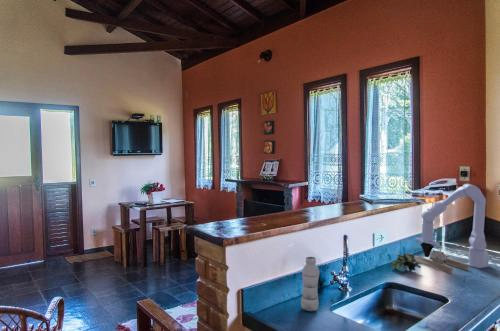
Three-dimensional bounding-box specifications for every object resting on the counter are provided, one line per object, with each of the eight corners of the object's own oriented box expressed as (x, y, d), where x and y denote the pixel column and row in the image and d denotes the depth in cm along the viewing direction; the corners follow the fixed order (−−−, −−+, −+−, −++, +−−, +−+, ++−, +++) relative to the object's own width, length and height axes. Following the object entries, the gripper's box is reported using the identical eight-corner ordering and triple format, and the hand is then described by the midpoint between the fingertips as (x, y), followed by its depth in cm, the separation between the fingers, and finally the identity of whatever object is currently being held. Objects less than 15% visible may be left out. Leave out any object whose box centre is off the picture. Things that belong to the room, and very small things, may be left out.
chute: (431, 258, 209) (431, 253, 209) (468, 270, 189) (468, 264, 189) (414, 261, 204) (414, 255, 204) (450, 273, 184) (450, 267, 184)
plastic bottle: (299, 306, 143) (300, 255, 142) (316, 305, 143) (317, 255, 142) (302, 313, 136) (303, 260, 135) (320, 313, 137) (321, 260, 136)
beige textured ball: (442, 272, 196) (452, 261, 190) (426, 266, 198) (436, 254, 192) (441, 260, 203) (451, 249, 197) (426, 254, 205) (435, 242, 198)
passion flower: (409, 280, 188) (425, 264, 184) (401, 282, 180) (417, 265, 176) (393, 264, 195) (408, 248, 191) (384, 264, 187) (400, 248, 183)
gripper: (411, 230, 208) (411, 254, 209) (434, 236, 195) (433, 261, 196) (420, 229, 211) (419, 252, 212) (443, 234, 198) (442, 259, 199)
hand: (426, 256), depth 204 cm, fingers closed
